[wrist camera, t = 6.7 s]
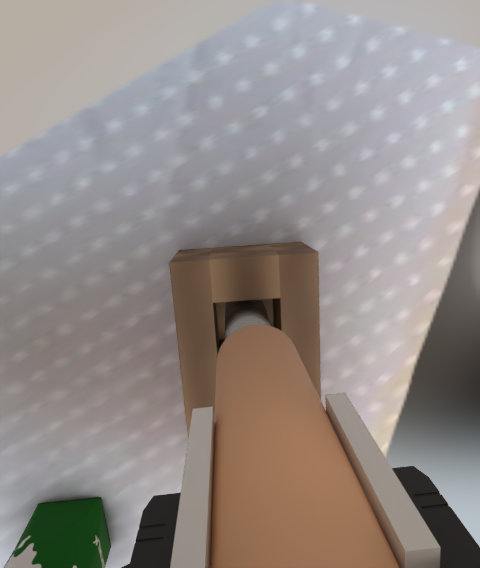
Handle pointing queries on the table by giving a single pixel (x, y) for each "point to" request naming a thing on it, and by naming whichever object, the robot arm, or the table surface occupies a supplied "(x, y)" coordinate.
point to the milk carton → (64, 537)
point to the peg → (283, 467)
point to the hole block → (240, 287)
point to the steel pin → (244, 315)
